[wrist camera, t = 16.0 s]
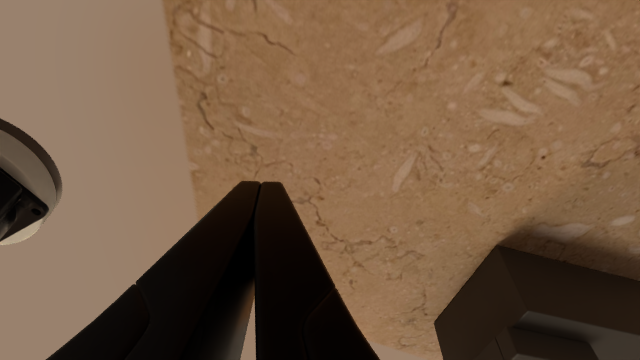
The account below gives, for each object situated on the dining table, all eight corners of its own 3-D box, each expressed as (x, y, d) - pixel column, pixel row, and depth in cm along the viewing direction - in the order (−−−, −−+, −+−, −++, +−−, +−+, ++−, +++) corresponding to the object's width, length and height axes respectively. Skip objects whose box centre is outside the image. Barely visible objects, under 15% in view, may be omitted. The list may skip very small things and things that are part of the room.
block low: (428, 322, 33) (451, 415, 27) (490, 243, 28) (535, 338, 22) (562, 349, 35) (609, 441, 29) (641, 281, 30) (717, 375, 24)
